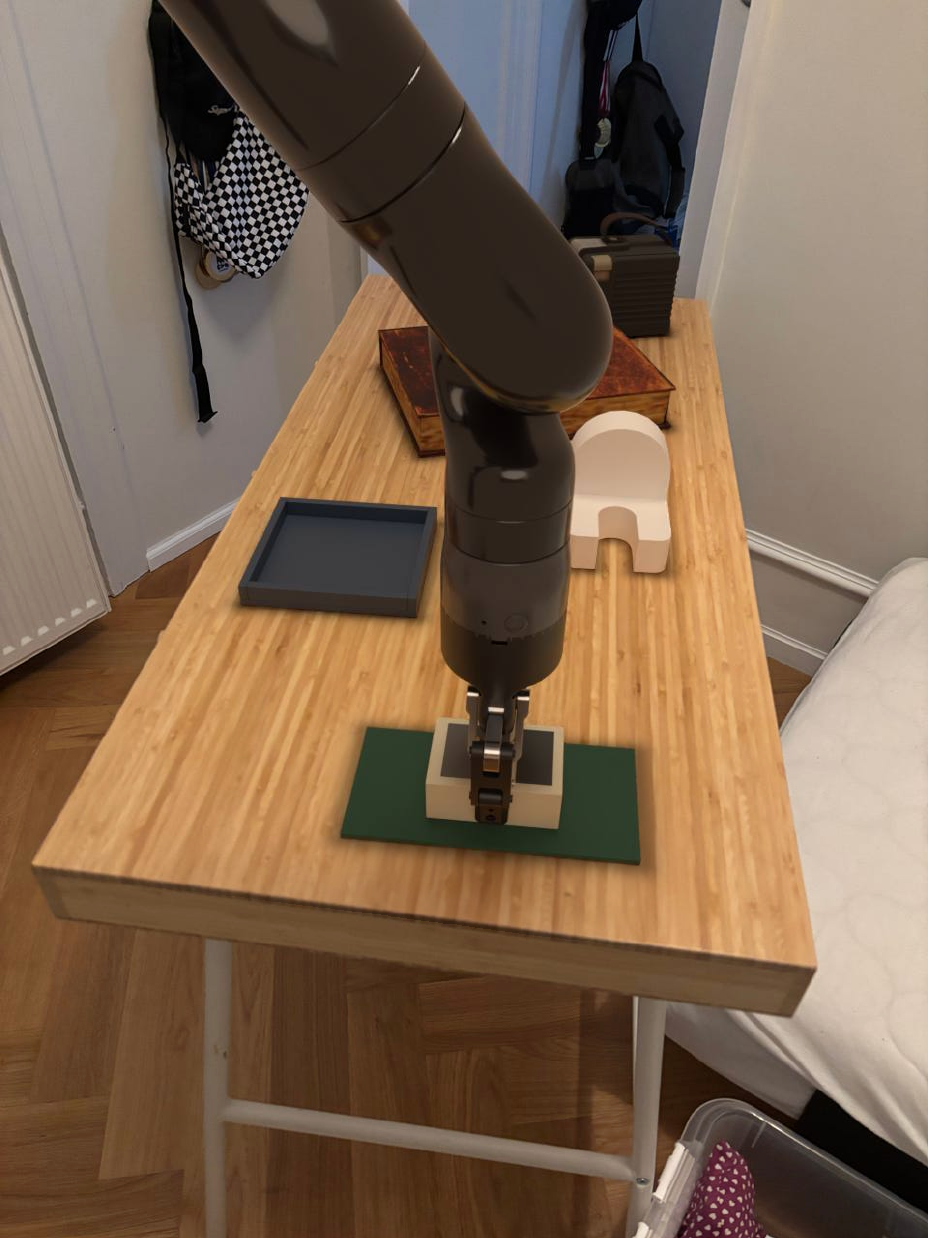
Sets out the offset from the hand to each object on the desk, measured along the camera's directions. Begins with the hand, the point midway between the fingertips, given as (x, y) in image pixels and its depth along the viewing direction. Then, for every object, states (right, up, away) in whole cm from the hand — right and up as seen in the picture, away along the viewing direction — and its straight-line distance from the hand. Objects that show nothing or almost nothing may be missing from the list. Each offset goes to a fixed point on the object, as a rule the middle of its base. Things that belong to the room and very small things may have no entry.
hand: (495, 780), depth 65 cm
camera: (+19, +53, +67) cm, 87 cm away
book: (+4, +38, +49) cm, 63 cm away
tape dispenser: (+13, +21, +28) cm, 38 cm away
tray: (-13, +17, +22) cm, 31 cm away
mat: (0, -1, +1) cm, 1 cm away
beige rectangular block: (0, -1, +1) cm, 1 cm away
